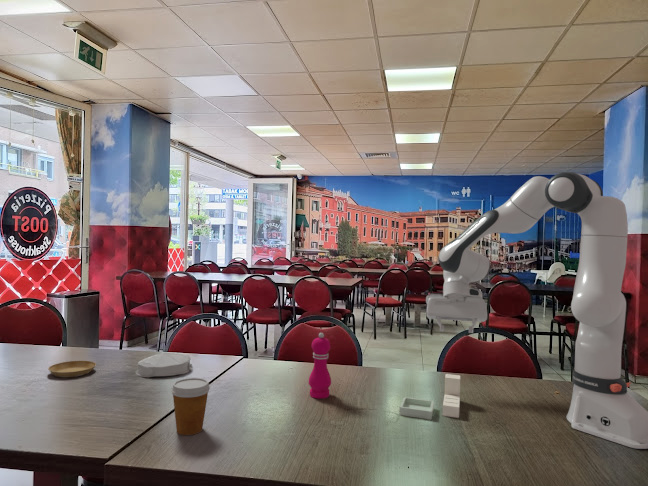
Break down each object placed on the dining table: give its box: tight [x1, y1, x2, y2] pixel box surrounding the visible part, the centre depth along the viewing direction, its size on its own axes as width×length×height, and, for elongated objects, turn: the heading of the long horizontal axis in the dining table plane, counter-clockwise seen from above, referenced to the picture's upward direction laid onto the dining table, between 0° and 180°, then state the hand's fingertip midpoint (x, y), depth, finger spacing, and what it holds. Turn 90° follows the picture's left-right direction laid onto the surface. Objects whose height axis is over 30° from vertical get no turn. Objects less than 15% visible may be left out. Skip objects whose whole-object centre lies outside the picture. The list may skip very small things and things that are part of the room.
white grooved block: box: [442, 393, 461, 419], centre depth 130 cm, size 10×4×3 cm, turn 162°
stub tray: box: [398, 396, 435, 420], centre depth 129 cm, size 9×9×2 cm
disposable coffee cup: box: [170, 377, 211, 436], centre depth 112 cm, size 10×10×12 cm
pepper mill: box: [308, 332, 332, 400], centre depth 140 cm, size 7×7×20 cm
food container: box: [135, 352, 194, 379], centre depth 162 cm, size 20×20×7 cm
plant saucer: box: [48, 360, 97, 378], centre depth 156 cm, size 15×15×3 cm
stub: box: [444, 373, 461, 397], centre depth 138 cm, size 4×4×8 cm
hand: (456, 331), depth 149 cm, fingers open, 8 cm apart
